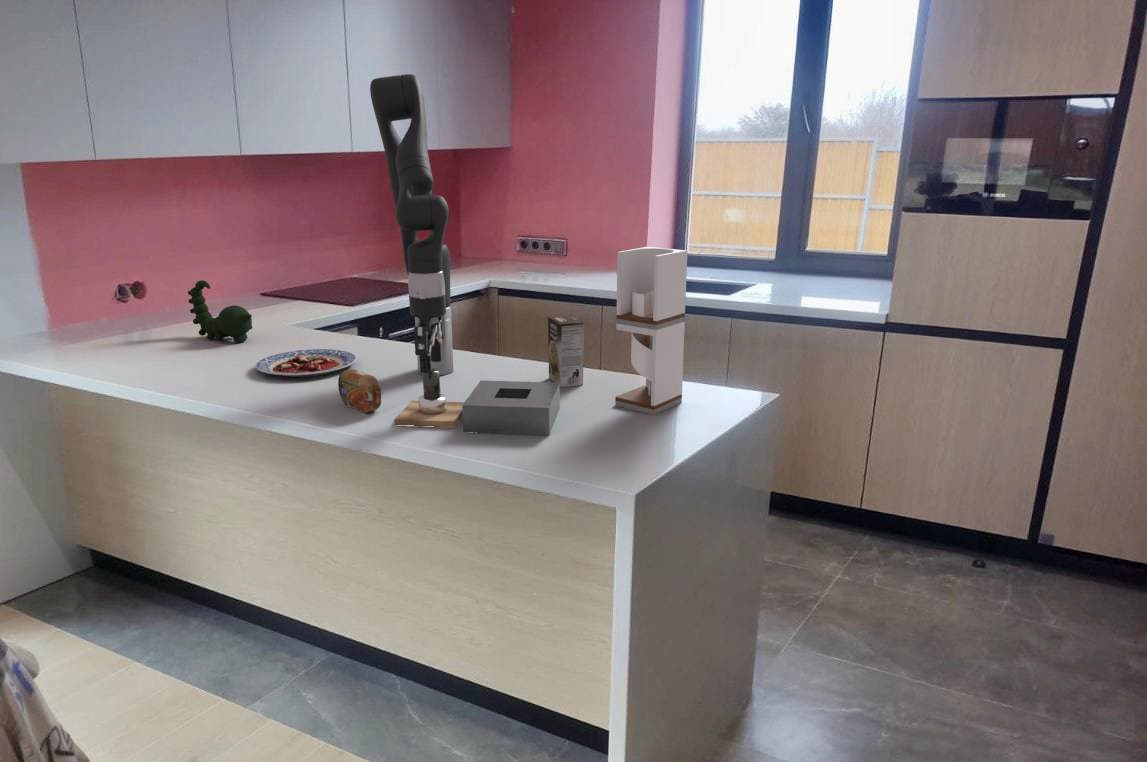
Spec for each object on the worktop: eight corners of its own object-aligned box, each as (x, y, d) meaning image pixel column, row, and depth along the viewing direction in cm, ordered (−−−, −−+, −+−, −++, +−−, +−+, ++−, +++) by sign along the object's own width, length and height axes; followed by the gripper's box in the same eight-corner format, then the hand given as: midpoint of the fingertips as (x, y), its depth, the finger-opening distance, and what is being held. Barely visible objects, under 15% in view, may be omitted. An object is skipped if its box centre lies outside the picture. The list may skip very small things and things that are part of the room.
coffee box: (547, 378, 207) (547, 316, 202) (571, 375, 209) (571, 314, 205) (559, 387, 199) (559, 323, 194) (584, 385, 201) (584, 321, 196)
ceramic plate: (328, 385, 202) (327, 373, 201) (235, 379, 207) (234, 368, 206) (373, 359, 226) (372, 348, 225) (289, 354, 231) (288, 344, 230)
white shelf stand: (643, 393, 194) (647, 246, 184) (681, 402, 188) (687, 250, 178) (615, 405, 186) (617, 251, 176) (653, 414, 179) (658, 256, 169)
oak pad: (412, 406, 185) (412, 400, 184) (468, 408, 184) (468, 402, 183) (394, 426, 172) (394, 419, 172) (454, 428, 171) (454, 421, 171)
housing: (481, 405, 186) (480, 380, 184) (559, 407, 184) (559, 382, 182) (463, 432, 168) (462, 405, 167) (549, 435, 167) (549, 407, 165)
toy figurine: (188, 344, 249) (243, 346, 237) (176, 282, 244) (231, 282, 232) (214, 338, 257) (269, 339, 245) (203, 278, 252) (258, 277, 240)
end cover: (422, 406, 181) (420, 367, 178) (449, 406, 180) (447, 367, 178) (416, 414, 175) (413, 374, 172) (443, 415, 175) (441, 375, 172)
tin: (338, 402, 189) (335, 367, 186) (350, 399, 191) (347, 364, 188) (372, 417, 178) (369, 380, 176) (385, 413, 180) (382, 377, 178)
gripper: (418, 286, 177) (423, 357, 182) (399, 299, 164) (404, 376, 168) (452, 286, 176) (456, 358, 181) (435, 299, 163) (440, 377, 168)
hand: (431, 366), depth 175 cm, fingers open, 8 cm apart
